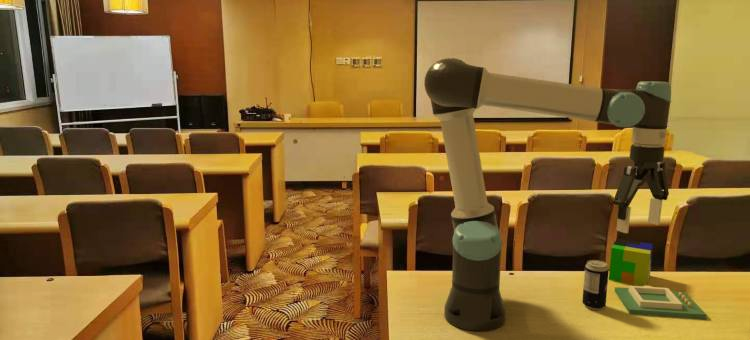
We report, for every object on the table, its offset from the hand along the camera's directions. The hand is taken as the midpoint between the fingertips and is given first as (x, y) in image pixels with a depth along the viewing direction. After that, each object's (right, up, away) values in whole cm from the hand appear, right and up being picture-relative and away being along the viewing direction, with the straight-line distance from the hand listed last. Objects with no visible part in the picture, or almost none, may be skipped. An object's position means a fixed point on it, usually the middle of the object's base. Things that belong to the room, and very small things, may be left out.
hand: (638, 227), depth 136 cm
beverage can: (-9, -21, +5) cm, 24 cm away
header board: (+8, -21, +6) cm, 23 cm away
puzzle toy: (+9, -18, +23) cm, 31 cm away
